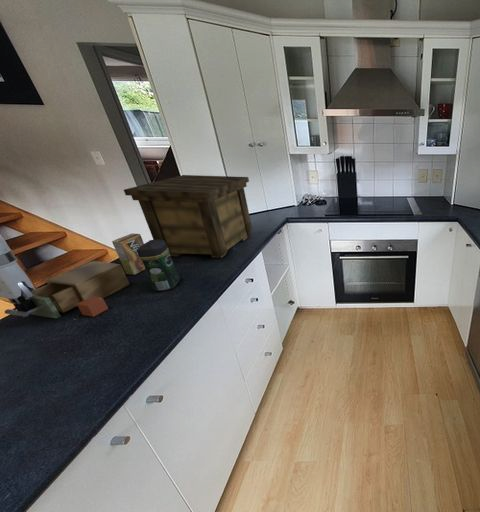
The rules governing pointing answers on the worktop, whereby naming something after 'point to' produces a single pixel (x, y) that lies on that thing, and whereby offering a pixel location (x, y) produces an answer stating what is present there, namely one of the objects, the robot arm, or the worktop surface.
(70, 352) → the worktop surface
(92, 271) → the cabinet
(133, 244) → the candy box
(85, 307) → the block
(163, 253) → the coffee jar
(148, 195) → the crate
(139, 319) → the worktop surface
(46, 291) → the drawer
